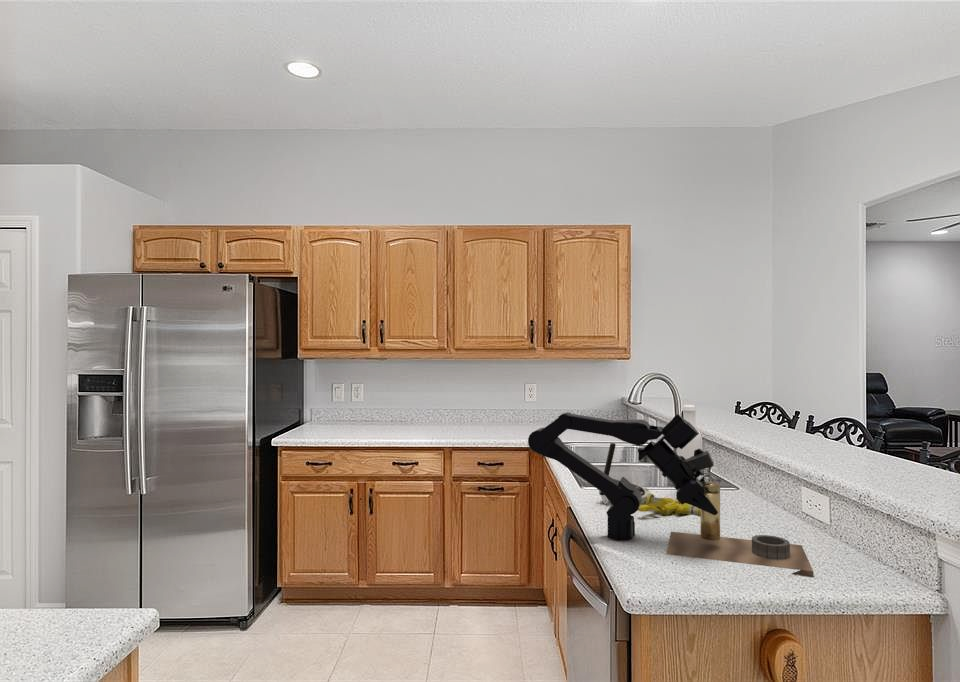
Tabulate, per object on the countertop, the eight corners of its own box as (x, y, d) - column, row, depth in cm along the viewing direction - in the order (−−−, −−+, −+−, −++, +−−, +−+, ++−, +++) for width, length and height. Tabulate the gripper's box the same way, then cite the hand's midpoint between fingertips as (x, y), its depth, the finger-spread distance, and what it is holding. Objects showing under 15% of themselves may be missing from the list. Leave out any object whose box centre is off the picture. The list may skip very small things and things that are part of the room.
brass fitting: (712, 541, 142) (712, 486, 142) (696, 536, 145) (696, 482, 146) (724, 538, 144) (723, 483, 144) (707, 533, 148) (707, 480, 148)
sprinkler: (724, 512, 179) (658, 500, 191) (724, 491, 179) (658, 480, 191) (700, 538, 162) (629, 522, 174) (700, 514, 161) (629, 500, 173)
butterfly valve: (643, 496, 197) (593, 493, 194) (657, 440, 191) (605, 437, 188) (654, 511, 189) (602, 508, 186) (669, 453, 183) (615, 450, 180)
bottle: (708, 500, 192) (708, 406, 193) (688, 503, 189) (688, 407, 189) (690, 495, 200) (690, 403, 200) (671, 497, 197) (671, 404, 197)
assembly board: (666, 559, 140) (666, 540, 140) (670, 536, 157) (670, 519, 157) (813, 576, 129) (813, 557, 129) (801, 550, 146) (801, 532, 146)
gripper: (691, 445, 138) (744, 498, 134) (693, 434, 155) (740, 481, 151) (655, 477, 140) (706, 530, 136) (661, 463, 158) (707, 509, 154)
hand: (716, 511), depth 144 cm, fingers closed on brass fitting, 4 cm apart
